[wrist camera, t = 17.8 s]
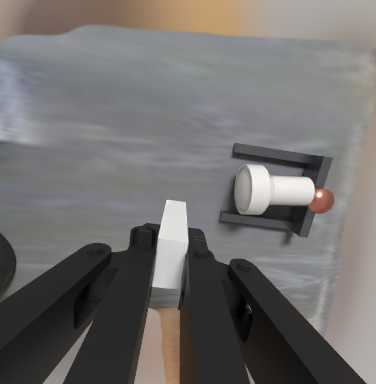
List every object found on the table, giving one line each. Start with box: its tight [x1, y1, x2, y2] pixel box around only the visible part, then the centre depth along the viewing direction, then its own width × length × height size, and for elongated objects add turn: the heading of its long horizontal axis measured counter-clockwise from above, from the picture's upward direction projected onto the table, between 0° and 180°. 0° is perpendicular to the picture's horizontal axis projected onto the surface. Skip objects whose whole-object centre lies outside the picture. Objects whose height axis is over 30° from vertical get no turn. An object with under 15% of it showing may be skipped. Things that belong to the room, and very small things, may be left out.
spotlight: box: [234, 164, 315, 215], centre depth 33 cm, size 8×11×8 cm
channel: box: [220, 143, 334, 237], centre depth 35 cm, size 16×14×6 cm
